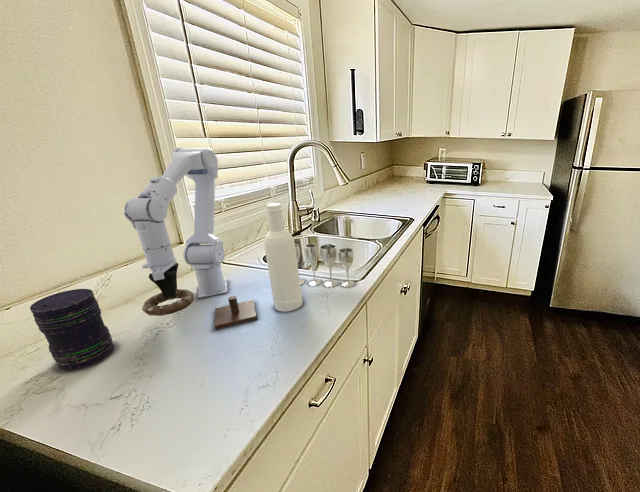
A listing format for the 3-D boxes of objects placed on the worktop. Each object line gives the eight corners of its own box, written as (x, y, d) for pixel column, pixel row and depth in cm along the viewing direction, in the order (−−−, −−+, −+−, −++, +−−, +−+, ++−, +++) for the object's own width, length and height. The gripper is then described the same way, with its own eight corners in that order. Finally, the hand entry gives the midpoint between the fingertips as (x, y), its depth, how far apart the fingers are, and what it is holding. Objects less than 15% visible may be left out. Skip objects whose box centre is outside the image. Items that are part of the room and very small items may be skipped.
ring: (149, 301, 85) (146, 293, 84) (196, 292, 89) (194, 284, 89) (140, 322, 76) (137, 313, 75) (193, 310, 80) (191, 302, 80)
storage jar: (103, 338, 81) (81, 285, 75) (124, 350, 76) (102, 294, 71) (49, 363, 73) (20, 304, 67) (69, 377, 68) (39, 316, 63)
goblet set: (357, 280, 110) (354, 243, 105) (353, 288, 104) (350, 249, 100) (278, 277, 113) (272, 241, 108) (270, 285, 107) (263, 247, 102)
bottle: (268, 309, 93) (249, 206, 82) (286, 296, 100) (270, 200, 89) (292, 314, 90) (276, 208, 80) (308, 300, 97) (295, 201, 87)
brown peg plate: (216, 311, 92) (211, 294, 90) (254, 303, 96) (250, 286, 94) (215, 329, 84) (210, 310, 82) (257, 319, 88) (253, 301, 86)
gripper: (143, 239, 85) (158, 286, 90) (129, 258, 73) (147, 310, 78) (175, 235, 88) (187, 280, 93) (167, 252, 76) (182, 303, 81)
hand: (171, 294), depth 86 cm, fingers closed on ring, 2 cm apart
